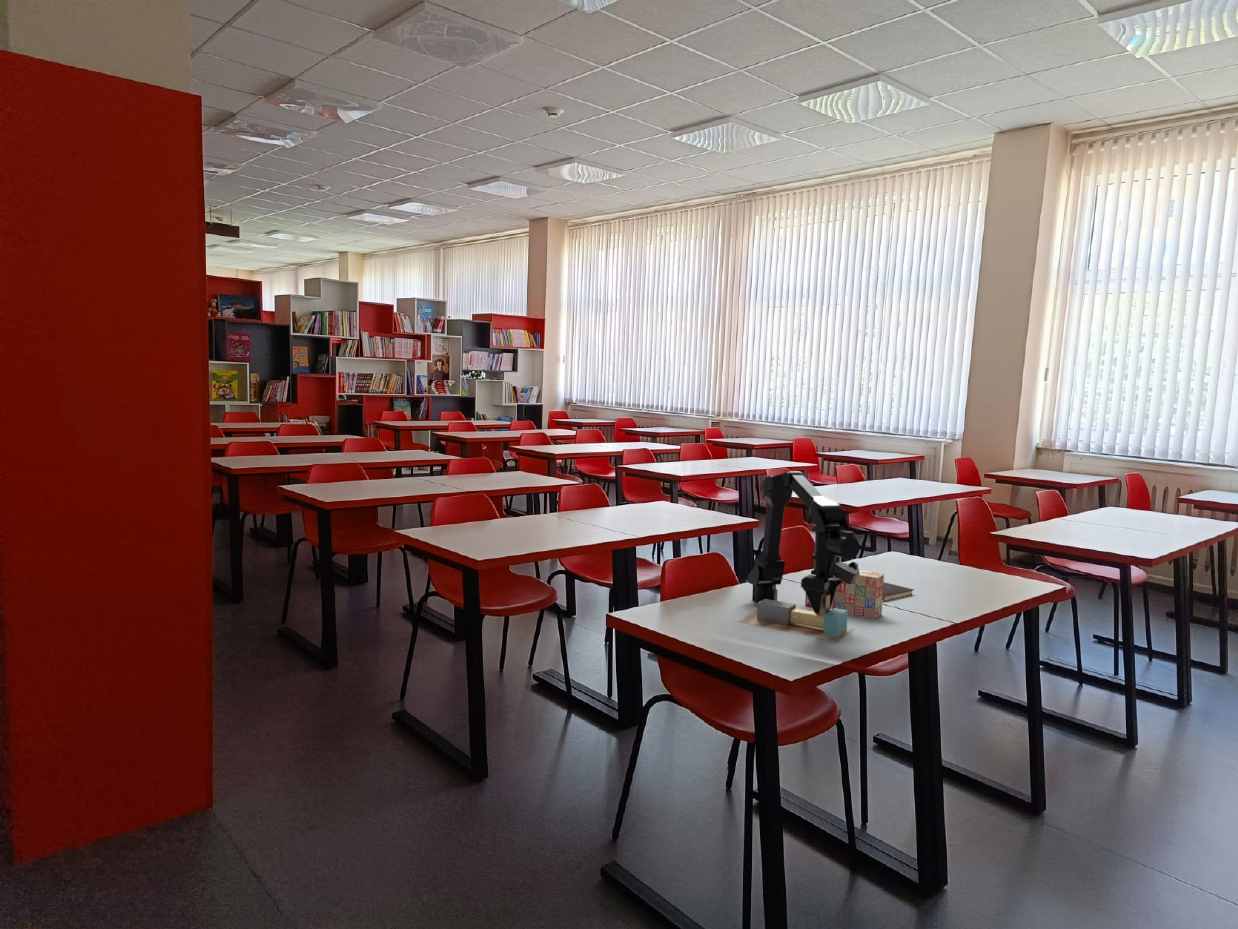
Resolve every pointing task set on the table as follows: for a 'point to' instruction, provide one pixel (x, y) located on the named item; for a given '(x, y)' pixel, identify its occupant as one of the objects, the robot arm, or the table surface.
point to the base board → (793, 628)
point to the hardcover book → (894, 591)
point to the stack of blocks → (860, 595)
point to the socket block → (835, 622)
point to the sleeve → (774, 612)
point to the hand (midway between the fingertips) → (823, 609)
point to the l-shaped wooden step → (811, 614)
